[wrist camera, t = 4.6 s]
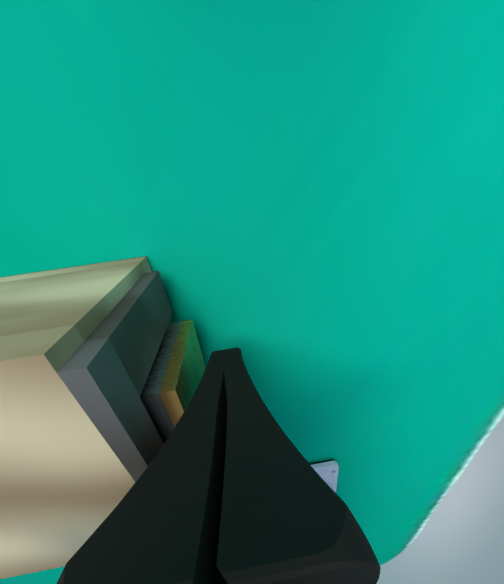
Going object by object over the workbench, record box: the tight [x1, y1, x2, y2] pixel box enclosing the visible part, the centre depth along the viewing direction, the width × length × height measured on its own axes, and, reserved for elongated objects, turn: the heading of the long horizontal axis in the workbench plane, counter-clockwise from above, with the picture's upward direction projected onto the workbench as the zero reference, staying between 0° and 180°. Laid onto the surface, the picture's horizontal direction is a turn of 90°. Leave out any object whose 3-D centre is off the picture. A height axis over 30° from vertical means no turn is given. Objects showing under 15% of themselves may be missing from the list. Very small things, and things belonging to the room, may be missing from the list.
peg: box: [140, 320, 206, 443], centre depth 9 cm, size 4×14×4 cm, turn 97°
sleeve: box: [0, 256, 173, 579], centre depth 9 cm, size 10×11×6 cm
